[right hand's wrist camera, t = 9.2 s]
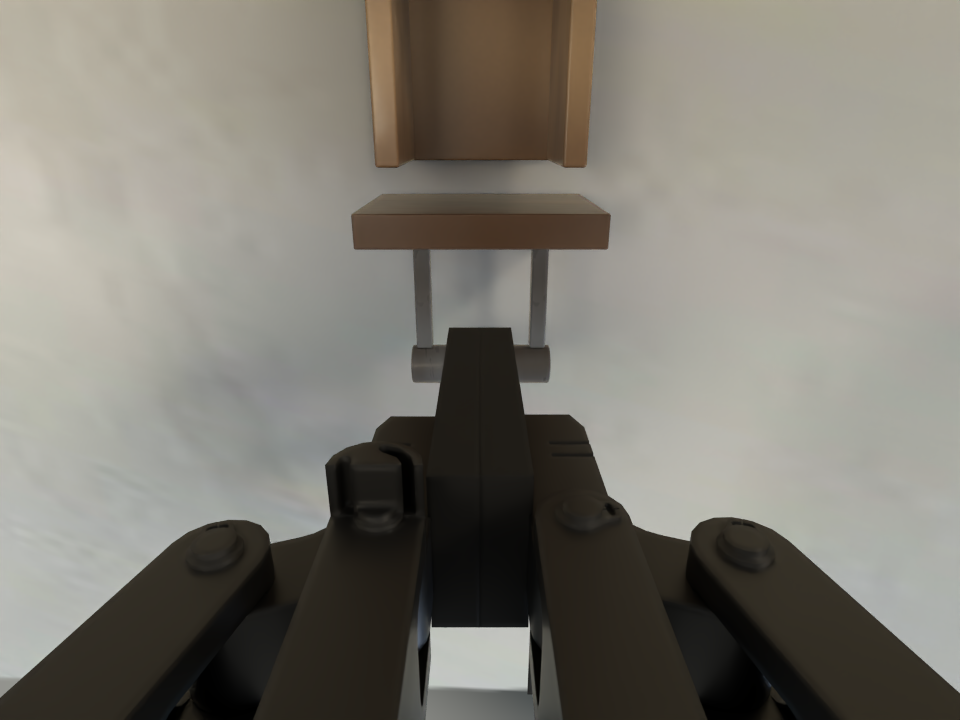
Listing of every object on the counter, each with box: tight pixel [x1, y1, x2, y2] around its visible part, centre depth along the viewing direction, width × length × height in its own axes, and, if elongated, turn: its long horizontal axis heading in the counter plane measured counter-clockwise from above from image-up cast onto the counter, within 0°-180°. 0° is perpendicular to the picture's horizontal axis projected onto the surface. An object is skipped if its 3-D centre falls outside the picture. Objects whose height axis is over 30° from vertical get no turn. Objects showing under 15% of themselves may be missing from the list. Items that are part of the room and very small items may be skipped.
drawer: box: [351, 0, 611, 383], centre depth 21 cm, size 24×9×7 cm, turn 0°
